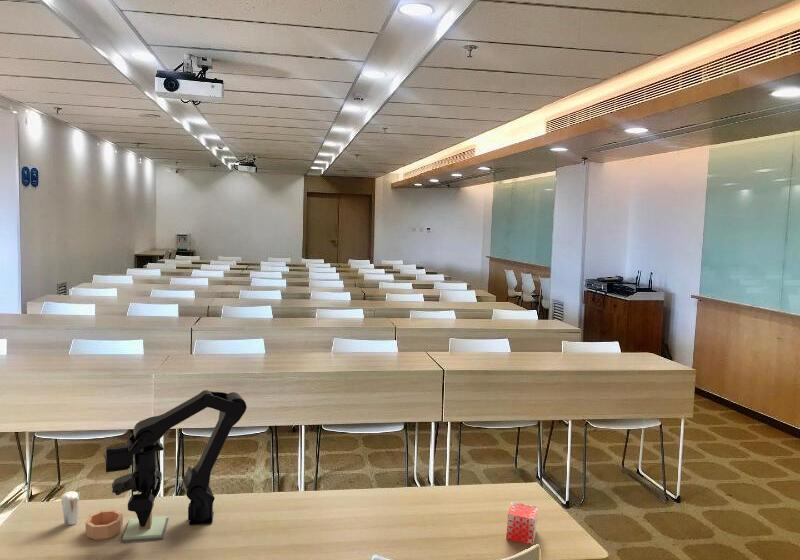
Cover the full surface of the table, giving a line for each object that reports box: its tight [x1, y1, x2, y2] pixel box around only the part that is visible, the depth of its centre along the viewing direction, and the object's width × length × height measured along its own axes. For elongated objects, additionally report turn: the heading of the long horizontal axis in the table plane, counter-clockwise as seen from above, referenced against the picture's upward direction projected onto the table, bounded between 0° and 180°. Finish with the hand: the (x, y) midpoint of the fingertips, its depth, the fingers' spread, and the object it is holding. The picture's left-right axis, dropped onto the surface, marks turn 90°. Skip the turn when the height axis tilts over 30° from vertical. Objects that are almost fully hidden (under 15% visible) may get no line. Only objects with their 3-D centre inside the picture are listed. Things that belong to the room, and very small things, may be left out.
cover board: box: [122, 510, 168, 540], centre depth 174 cm, size 10×10×5 cm
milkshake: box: [60, 490, 81, 527], centre depth 175 cm, size 4×5×10 cm
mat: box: [120, 517, 169, 544], centre depth 174 cm, size 11×11×1 cm
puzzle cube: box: [505, 501, 539, 545], centre depth 181 cm, size 8×8×8 cm
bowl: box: [85, 509, 124, 541], centre depth 172 cm, size 9×9×4 cm
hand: (145, 518), depth 174 cm, fingers open, 9 cm apart
